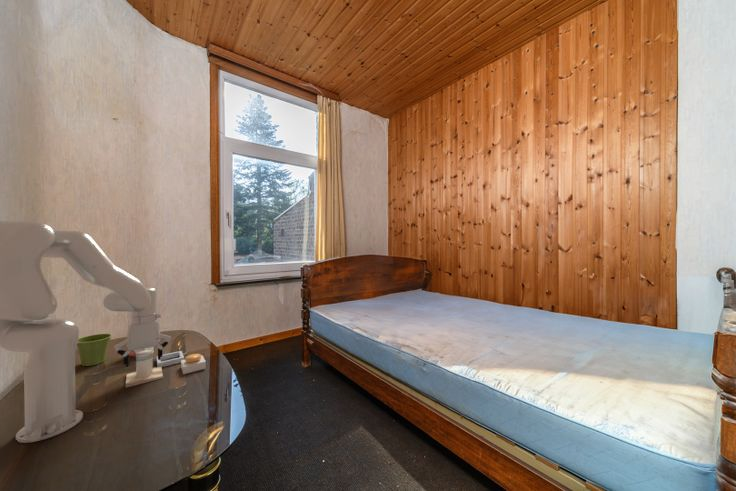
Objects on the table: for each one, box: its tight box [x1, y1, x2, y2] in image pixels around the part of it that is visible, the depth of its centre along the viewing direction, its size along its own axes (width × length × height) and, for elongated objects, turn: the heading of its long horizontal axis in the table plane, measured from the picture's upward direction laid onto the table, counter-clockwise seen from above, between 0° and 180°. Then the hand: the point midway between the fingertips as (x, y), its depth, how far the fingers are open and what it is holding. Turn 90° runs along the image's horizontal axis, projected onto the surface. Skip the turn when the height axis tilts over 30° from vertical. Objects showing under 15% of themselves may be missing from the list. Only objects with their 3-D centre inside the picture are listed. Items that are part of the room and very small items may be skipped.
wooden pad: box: [124, 366, 164, 388], centre depth 107 cm, size 11×11×1 cm
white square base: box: [180, 354, 207, 375], centre depth 115 cm, size 8×8×3 cm
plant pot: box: [76, 333, 113, 367], centre depth 118 cm, size 12×12×11 cm
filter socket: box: [156, 350, 185, 368], centre depth 121 cm, size 9×9×2 cm
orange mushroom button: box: [184, 353, 202, 363], centre depth 115 cm, size 6×6×4 cm
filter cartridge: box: [135, 350, 154, 378], centre depth 107 cm, size 5×5×9 cm
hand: (143, 362), depth 106 cm, fingers open, 9 cm apart
